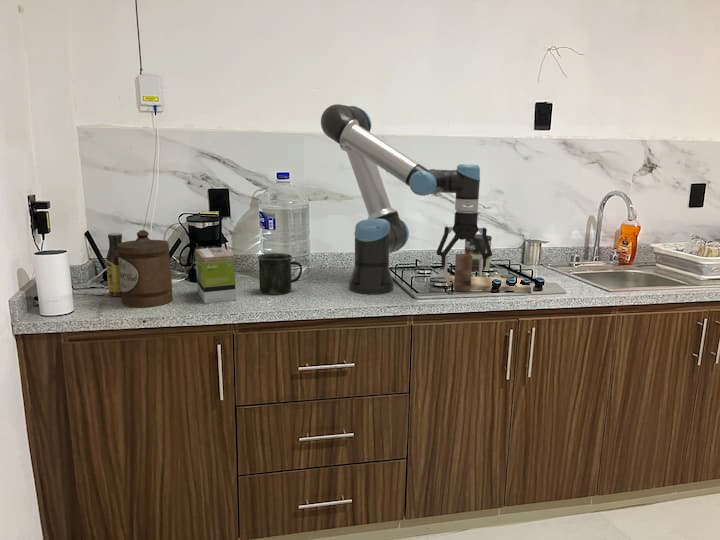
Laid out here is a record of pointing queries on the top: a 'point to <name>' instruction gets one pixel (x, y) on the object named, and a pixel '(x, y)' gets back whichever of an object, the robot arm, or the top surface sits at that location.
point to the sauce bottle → (113, 264)
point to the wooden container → (145, 272)
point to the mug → (276, 273)
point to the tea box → (215, 274)
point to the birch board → (486, 284)
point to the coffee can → (477, 252)
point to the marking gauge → (463, 272)
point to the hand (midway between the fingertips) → (462, 276)
